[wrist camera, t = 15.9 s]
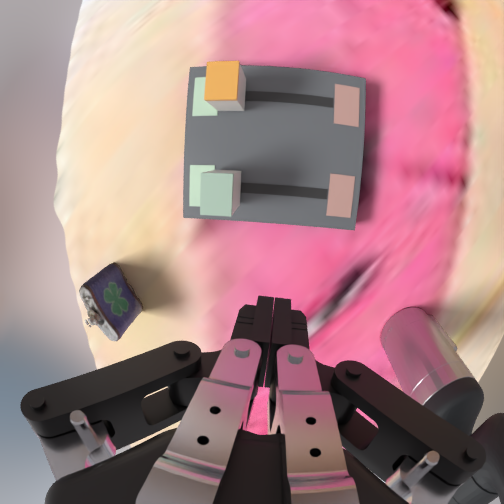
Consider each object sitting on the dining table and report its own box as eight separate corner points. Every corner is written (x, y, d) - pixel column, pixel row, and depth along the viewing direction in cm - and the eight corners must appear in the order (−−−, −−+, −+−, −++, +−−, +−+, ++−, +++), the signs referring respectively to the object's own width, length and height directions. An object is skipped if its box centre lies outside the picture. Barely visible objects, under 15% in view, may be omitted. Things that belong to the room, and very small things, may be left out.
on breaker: (241, 170, 31) (232, 173, 25) (239, 205, 32) (231, 216, 26) (215, 169, 31) (200, 172, 25) (214, 203, 32) (199, 214, 26)
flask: (146, 309, 42) (115, 347, 32) (133, 314, 43) (102, 351, 33) (116, 259, 40) (77, 288, 30) (104, 266, 41) (65, 295, 31)
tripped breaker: (246, 79, 27) (239, 60, 21) (244, 111, 29) (236, 99, 22) (220, 79, 28) (207, 61, 21) (218, 110, 29) (204, 99, 23)
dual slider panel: (358, 84, 29) (365, 78, 26) (348, 224, 35) (354, 230, 33) (196, 73, 30) (189, 67, 28) (190, 212, 37) (183, 217, 34)
